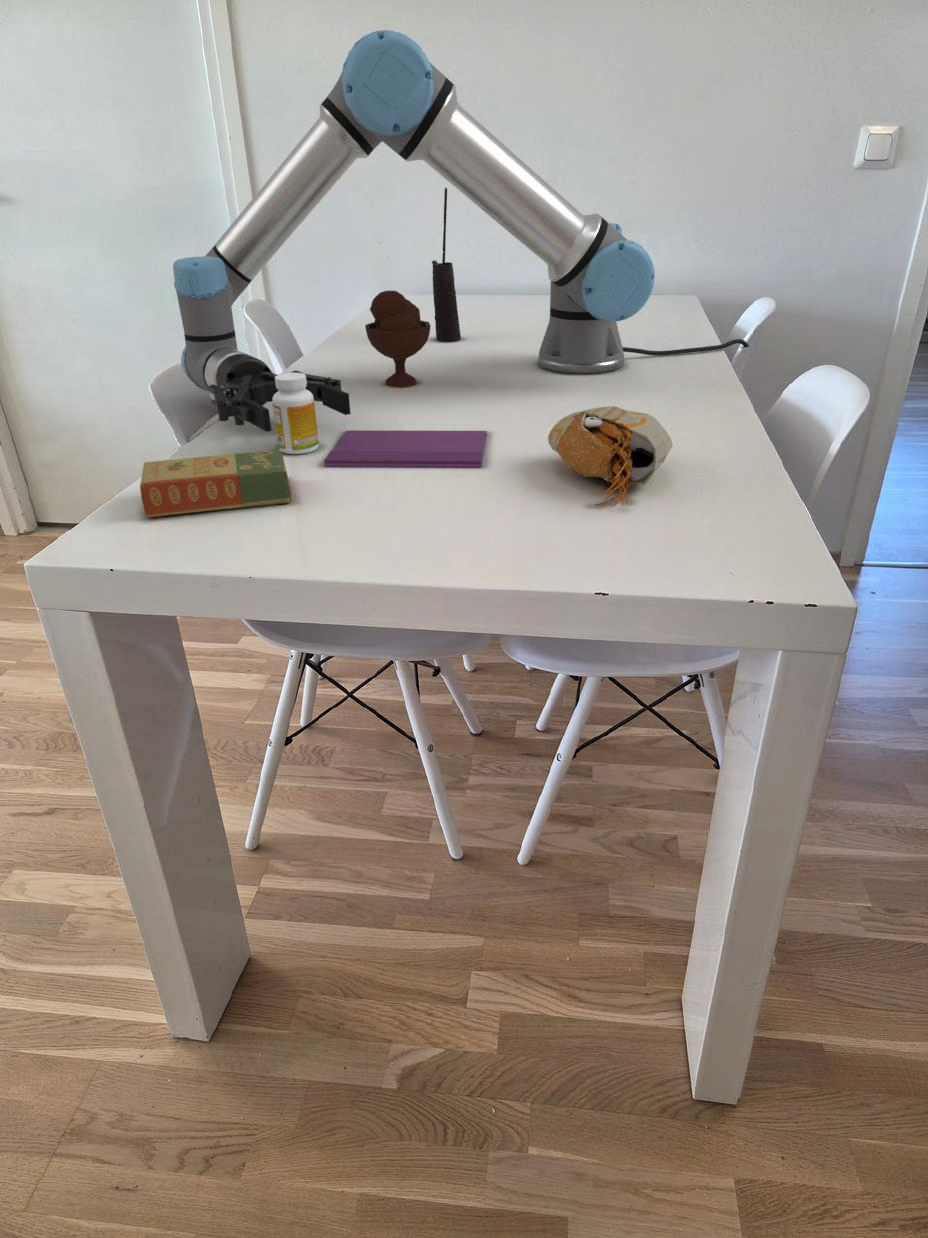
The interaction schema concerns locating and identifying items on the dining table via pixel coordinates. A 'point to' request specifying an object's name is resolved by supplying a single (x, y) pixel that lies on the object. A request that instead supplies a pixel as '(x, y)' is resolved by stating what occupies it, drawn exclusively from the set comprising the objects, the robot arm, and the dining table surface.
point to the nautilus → (612, 446)
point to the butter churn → (445, 295)
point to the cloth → (408, 449)
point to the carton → (214, 483)
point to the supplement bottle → (294, 414)
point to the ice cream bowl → (397, 333)
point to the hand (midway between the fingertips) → (308, 412)
